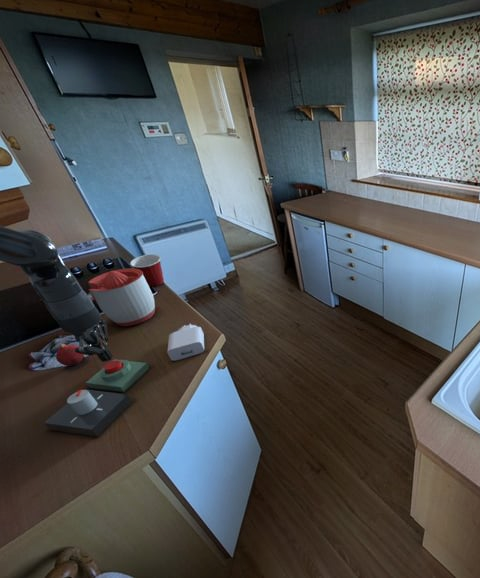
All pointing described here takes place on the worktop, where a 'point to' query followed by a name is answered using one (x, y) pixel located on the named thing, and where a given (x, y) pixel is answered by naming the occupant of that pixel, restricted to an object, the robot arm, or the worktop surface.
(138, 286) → the citrus juicer
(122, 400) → the panel
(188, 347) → the charger
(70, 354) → the red round fruit
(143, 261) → the plastic cup
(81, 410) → the burner knob
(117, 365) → the button
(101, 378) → the block
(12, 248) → the robot arm
